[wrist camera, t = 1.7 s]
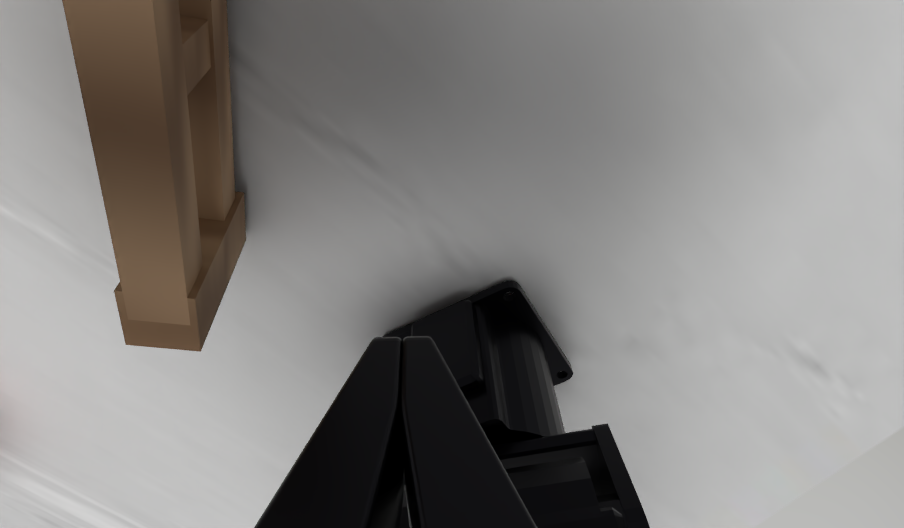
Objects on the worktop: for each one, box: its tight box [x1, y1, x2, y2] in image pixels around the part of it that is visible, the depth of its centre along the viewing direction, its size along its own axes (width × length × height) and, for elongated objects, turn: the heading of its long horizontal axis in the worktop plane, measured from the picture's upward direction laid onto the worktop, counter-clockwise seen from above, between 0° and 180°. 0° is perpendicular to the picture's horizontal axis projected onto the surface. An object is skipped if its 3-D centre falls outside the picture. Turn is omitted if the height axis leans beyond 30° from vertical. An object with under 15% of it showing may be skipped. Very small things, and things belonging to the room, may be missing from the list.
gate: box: [62, 0, 246, 351], centre depth 14 cm, size 15×2×6 cm, turn 169°
